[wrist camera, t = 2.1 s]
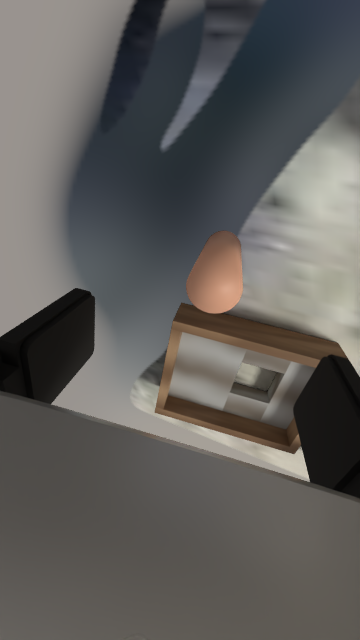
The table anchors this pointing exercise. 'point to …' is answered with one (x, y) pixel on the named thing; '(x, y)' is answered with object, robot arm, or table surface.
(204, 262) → the peg
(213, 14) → the table surface
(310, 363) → the wooden rectangular frame
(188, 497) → the robot arm
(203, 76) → the table surface
